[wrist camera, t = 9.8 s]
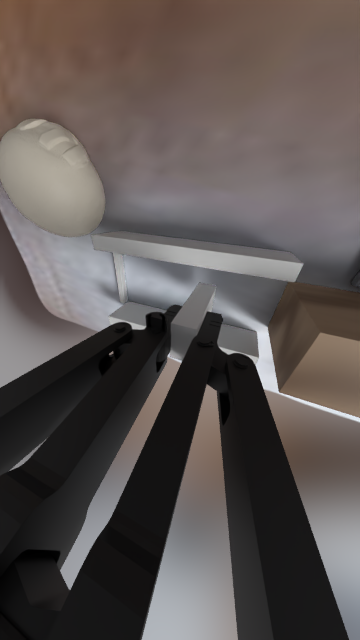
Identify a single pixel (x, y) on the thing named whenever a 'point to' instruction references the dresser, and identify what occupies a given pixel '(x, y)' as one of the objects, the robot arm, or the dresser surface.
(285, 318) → the panel
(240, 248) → the rack
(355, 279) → the felt pad
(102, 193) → the cream piece
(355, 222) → the dresser surface
